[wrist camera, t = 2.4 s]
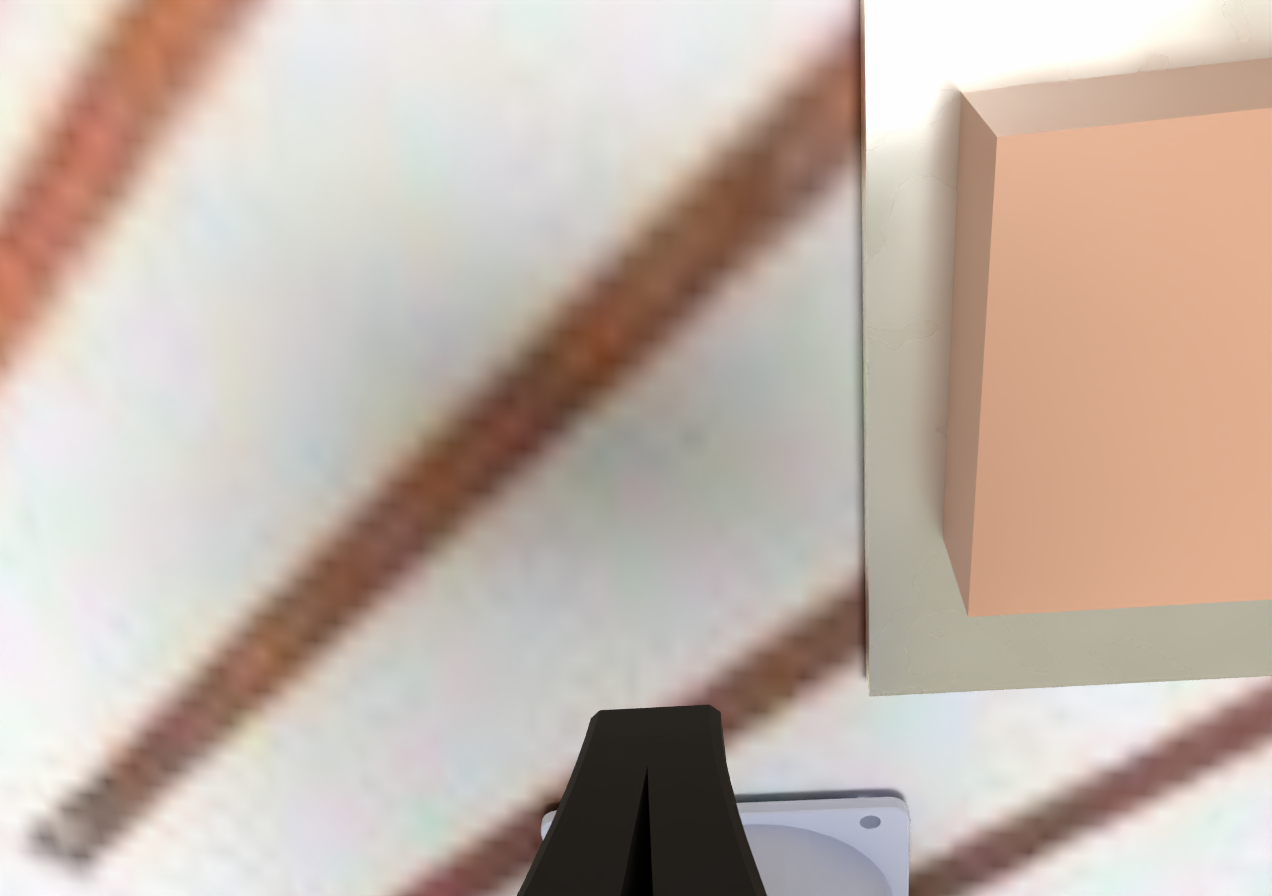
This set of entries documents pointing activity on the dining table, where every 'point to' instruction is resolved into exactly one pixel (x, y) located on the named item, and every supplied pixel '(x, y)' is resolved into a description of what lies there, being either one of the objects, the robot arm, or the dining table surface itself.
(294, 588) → the dining table surface
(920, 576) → the dock
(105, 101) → the dining table surface
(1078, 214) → the peach rectangular panel
